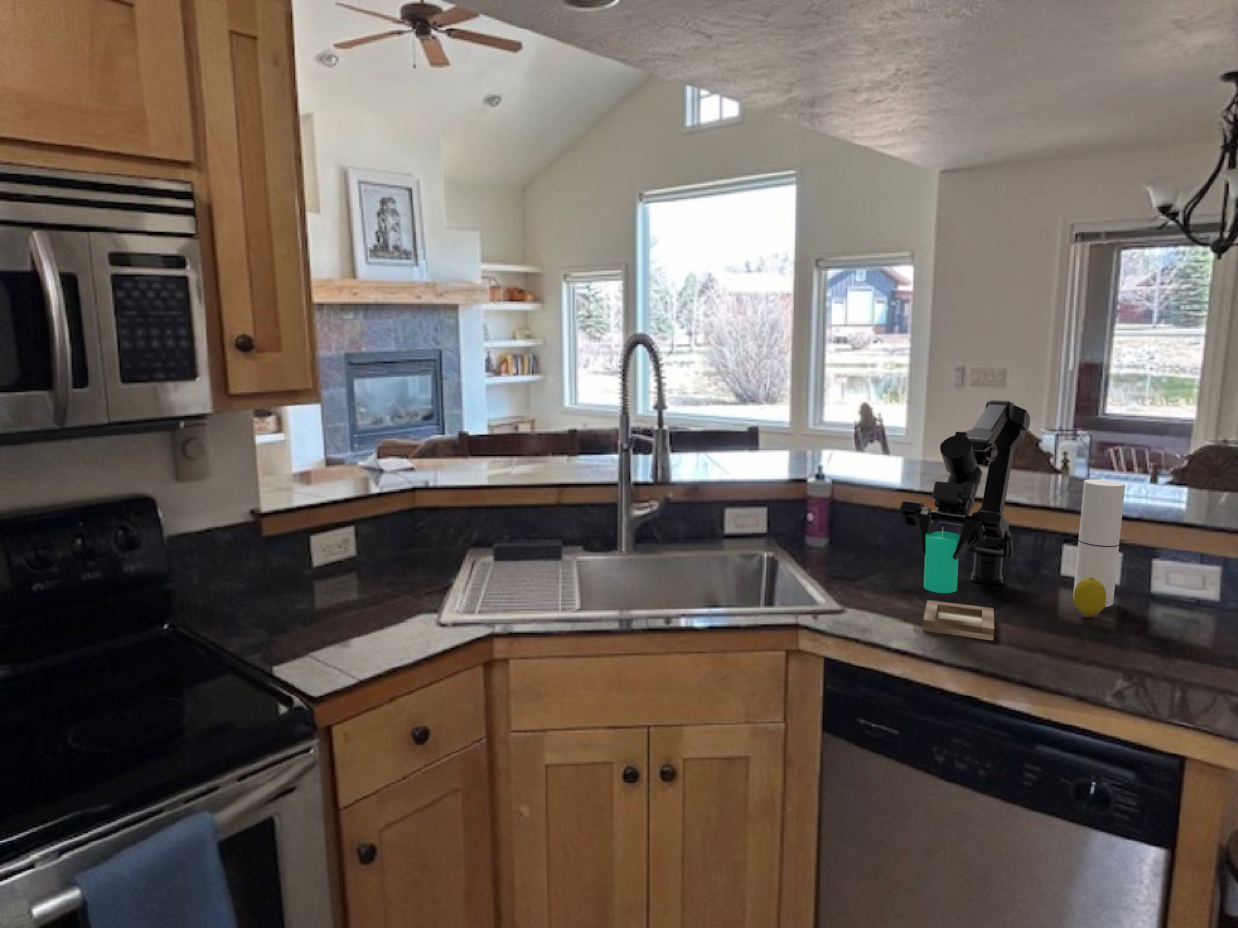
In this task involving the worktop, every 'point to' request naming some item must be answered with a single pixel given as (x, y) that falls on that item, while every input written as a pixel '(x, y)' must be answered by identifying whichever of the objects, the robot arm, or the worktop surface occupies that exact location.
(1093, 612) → the lemon
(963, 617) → the candle stand
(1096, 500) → the cylindrical container
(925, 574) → the candle
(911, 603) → the worktop surface
